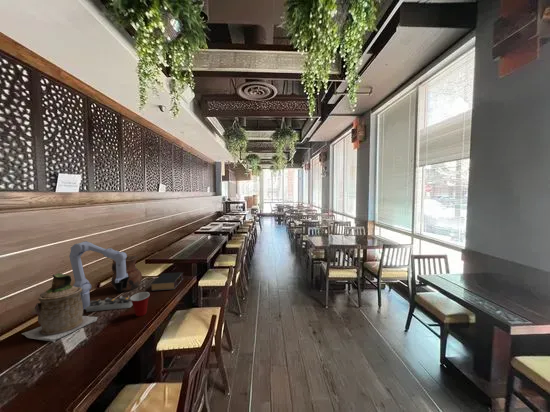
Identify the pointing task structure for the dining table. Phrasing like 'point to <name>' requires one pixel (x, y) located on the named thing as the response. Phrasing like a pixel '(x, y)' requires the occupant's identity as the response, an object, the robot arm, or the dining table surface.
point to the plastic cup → (140, 303)
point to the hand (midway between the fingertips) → (122, 289)
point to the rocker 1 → (95, 301)
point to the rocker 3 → (123, 298)
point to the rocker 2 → (109, 300)
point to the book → (167, 281)
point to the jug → (129, 273)
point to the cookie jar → (59, 311)
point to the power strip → (109, 305)
